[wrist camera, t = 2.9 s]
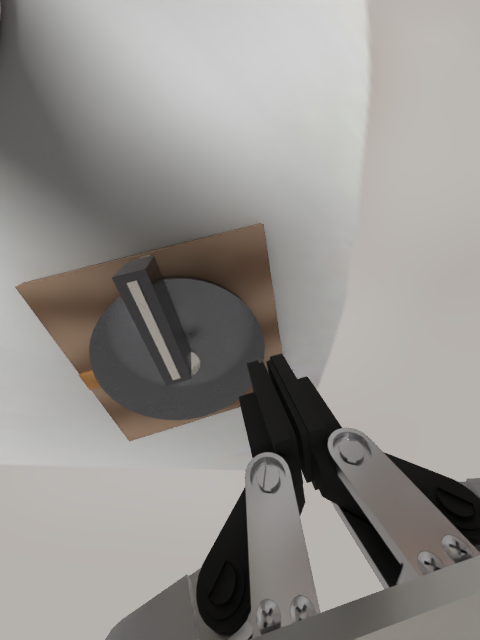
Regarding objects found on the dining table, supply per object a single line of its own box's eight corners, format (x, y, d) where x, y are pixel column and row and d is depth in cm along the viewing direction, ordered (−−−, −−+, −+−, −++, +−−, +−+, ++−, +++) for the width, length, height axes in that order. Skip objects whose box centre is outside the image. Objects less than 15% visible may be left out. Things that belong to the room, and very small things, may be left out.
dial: (39, 281, 17) (-15, 310, 13) (241, 230, 19) (258, 240, 14) (138, 427, 26) (127, 477, 22) (271, 387, 27) (288, 425, 23)
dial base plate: (23, 282, 18) (12, 288, 17) (260, 223, 20) (264, 224, 19) (131, 433, 28) (128, 443, 27) (284, 386, 30) (288, 393, 28)
